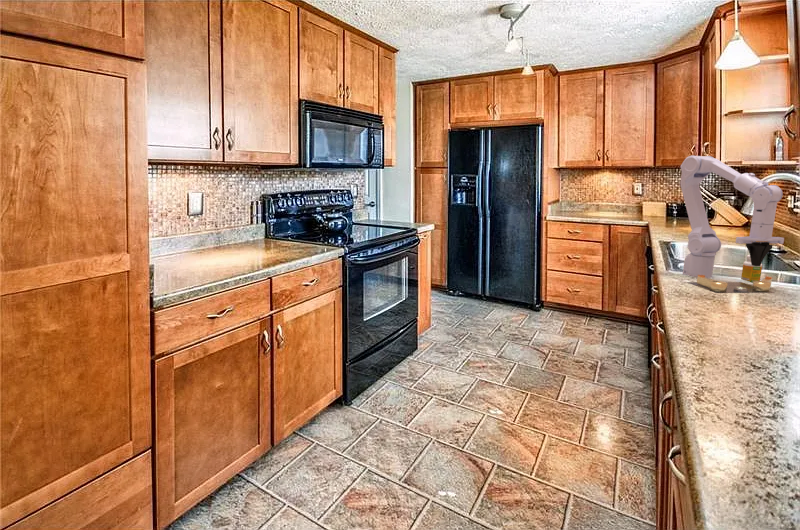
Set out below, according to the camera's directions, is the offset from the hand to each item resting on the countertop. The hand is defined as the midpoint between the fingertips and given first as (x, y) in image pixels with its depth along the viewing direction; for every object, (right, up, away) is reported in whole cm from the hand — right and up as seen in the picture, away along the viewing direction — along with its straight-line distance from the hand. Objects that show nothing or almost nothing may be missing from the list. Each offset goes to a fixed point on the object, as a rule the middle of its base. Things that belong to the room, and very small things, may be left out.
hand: (755, 265), depth 155 cm
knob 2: (+1, -7, -2) cm, 8 cm away
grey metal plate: (-9, -8, 0) cm, 12 cm away
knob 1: (-16, -7, -2) cm, 17 cm away
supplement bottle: (+7, -6, +12) cm, 16 cm away
